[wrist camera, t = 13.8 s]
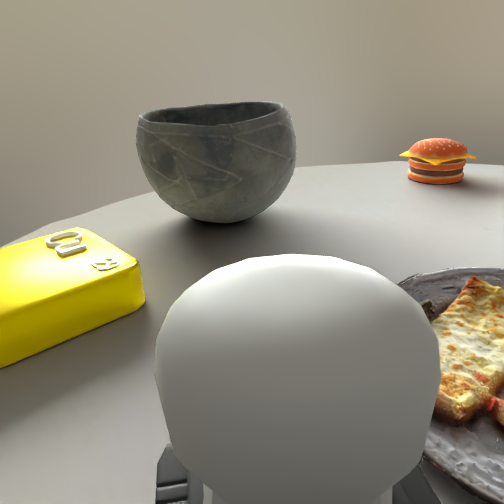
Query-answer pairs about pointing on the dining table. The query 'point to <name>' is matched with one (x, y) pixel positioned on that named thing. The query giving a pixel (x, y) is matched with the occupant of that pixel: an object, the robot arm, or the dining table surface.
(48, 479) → the dining table surface
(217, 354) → the salt shaker
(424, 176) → the hamburger
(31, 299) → the element tile
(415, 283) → the food plate
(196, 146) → the bowl
